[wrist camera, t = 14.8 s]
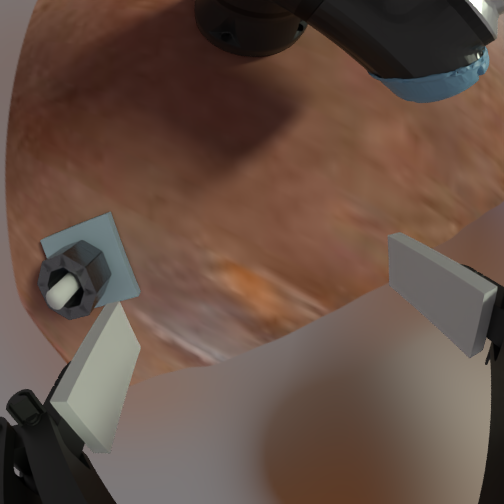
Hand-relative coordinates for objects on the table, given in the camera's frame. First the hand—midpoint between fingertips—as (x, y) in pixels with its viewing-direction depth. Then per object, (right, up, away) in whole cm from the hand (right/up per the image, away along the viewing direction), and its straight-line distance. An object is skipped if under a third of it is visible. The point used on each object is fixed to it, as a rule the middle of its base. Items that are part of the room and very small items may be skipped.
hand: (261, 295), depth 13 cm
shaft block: (-23, 0, +24) cm, 34 cm away
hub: (-23, -1, +22) cm, 32 cm away
